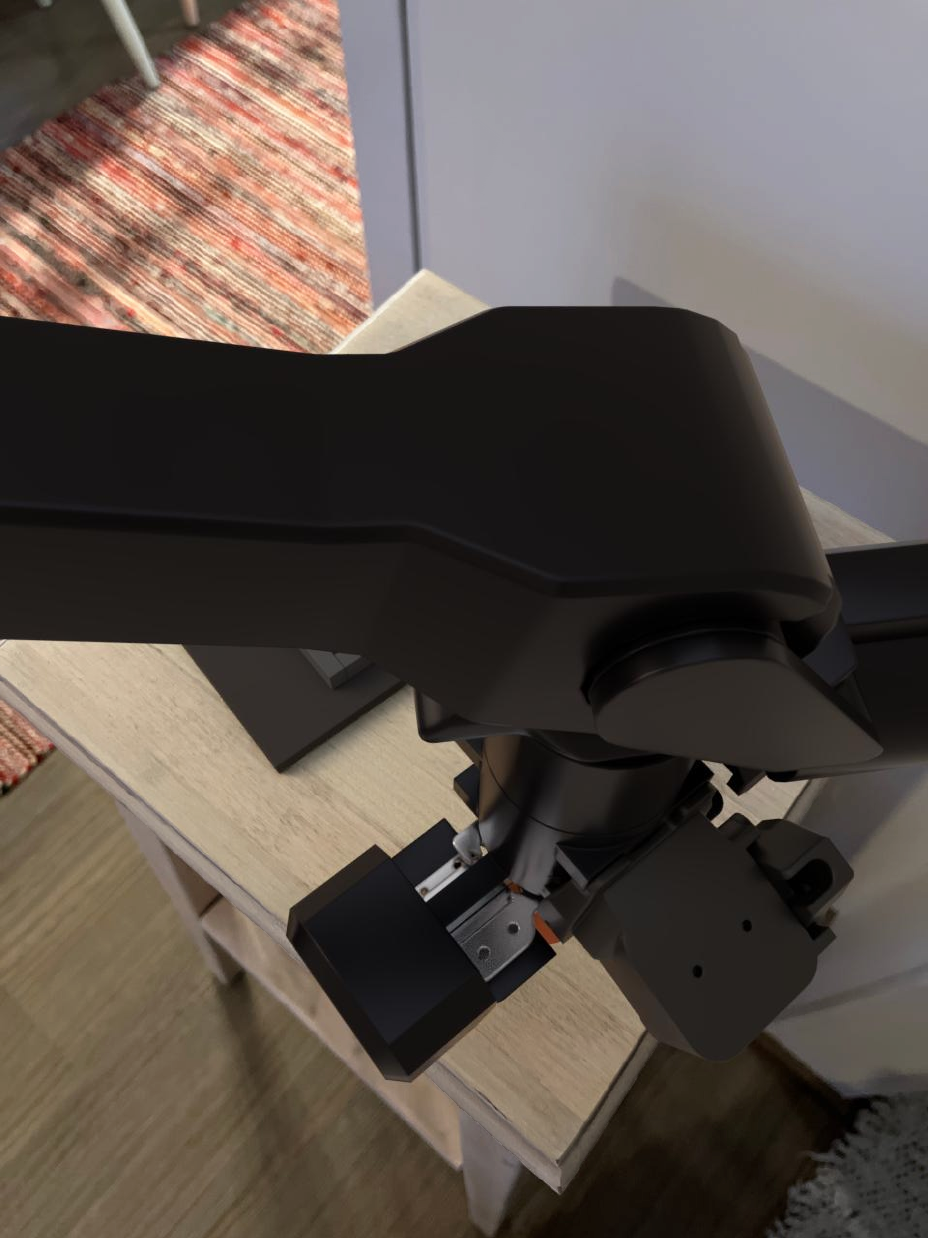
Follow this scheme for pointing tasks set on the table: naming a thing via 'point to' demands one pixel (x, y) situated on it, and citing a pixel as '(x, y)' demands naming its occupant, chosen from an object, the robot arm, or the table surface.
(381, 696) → the base pad
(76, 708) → the table surface
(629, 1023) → the table surface
